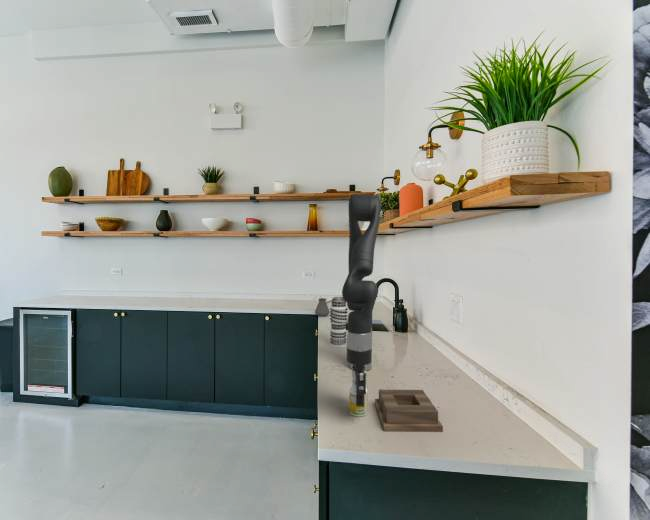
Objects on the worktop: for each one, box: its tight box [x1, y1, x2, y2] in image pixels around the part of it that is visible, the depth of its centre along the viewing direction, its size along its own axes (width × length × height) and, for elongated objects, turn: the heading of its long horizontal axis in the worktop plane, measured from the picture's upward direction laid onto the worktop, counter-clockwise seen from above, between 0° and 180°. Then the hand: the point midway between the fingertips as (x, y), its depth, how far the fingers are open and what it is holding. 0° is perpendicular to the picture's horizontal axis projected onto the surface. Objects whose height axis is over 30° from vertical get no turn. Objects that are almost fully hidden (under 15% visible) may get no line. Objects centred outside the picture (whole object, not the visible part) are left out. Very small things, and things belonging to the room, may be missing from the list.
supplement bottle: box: [348, 378, 368, 417], centre depth 97 cm, size 5×5×10 cm
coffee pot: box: [314, 297, 332, 317], centre depth 245 cm, size 21×12×15 cm, turn 84°
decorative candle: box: [329, 296, 349, 348], centre depth 168 cm, size 9×9×25 cm
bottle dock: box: [374, 388, 444, 433], centre depth 95 cm, size 16×16×5 cm
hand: (358, 399), depth 97 cm, fingers open, 8 cm apart
